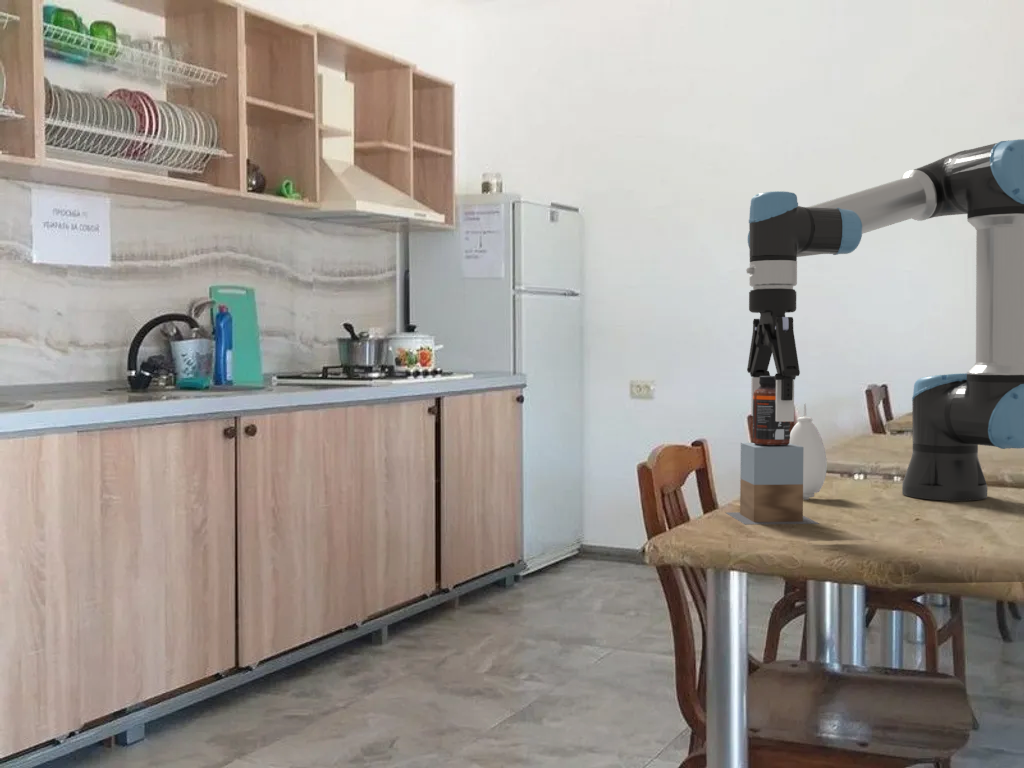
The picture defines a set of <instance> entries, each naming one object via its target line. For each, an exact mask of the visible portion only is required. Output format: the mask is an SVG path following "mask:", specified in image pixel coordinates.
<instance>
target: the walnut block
mask: <svg viewBox="0 0 1024 768" xmlns="http://www.w3.org/2000/svg"><path fill="white" fill-rule="evenodd" d="M739 481H740V488H739V489H740V492H739V497H740V499H739V500H740V501H739V502H740V503H739V504H740V506H739V508H740V509H739V512H740V514H741V515H742V516H744V517H746V518H748V519H749V520H751V521H753V522H803V516H804V500H803V484H787V485H753V484H751V483H749V482H747V481H745V480H742V479H740V480H739Z"/></svg>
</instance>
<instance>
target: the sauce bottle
mask: <svg viewBox="0 0 1024 768" xmlns="http://www.w3.org/2000/svg"><path fill="white" fill-rule="evenodd" d="M790 443H791V444H794V445H798V446H801V447H803V501H804V500H805V501H806V500H810V498H813V497H815V494H816V493H819V492H820V491H821V489H822V487H823V486H824V482H825V480H826V477H827V469H828V467H827V454H826V448H825V445H824V441H823V439H822V437H821V434H820V432H819V430H818V428H817V427H816V425H815V424H814V423H813V418H812V417H809V416H807V404H806V403H804V404H803V416H800V417H797V422H796V424H795V425H794V426H793V427H792V429H791V430H790Z"/></svg>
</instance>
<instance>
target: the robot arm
mask: <svg viewBox="0 0 1024 768" xmlns="http://www.w3.org/2000/svg"><path fill="white" fill-rule="evenodd" d="M956 215H957V216H958V215H967V222H968V223H969V224H970V225H971V226H972V227H973V228H974V229H975V230H976V235H975V237H976V241H975V242H976V250H975V252H976V256H975V257H976V258H975V259H976V265H975V266H976V267H975V268H976V269H975V272H976V273H975V279H976V280H975V283H976V284H975V286H976V287H975V290H976V291H975V295H976V296H975V363H974V364H973V366H971V367H970V368H969V369H968V370H967V371H966V373H947V374H939V375H937V374H936V375H929V376H928V375H927V376H922V377H920V378H918V379H916V381H915V382H914V384H913V393H912V394H913V395H912V398H911V401H912V405H911V406H912V453H911V458H910V461H909V464H908V466H907V469H906V472H905V473H904V475H905V476H904V478H903V481H902V487H901V488H902V492H901V494H902V495H904V496H906V497H910V498H916V499H917V498H918V499H924V500H925V499H926V500H936V501H956V502H957V501H980V500H985V499H987V498H988V484H987V481H986V477H985V474H984V471H983V469H982V465H981V463H980V460H979V446H985V447H986V446H987V447H996V448H998V449H1002V450H1005V449H1008V450H1009V449H1017V450H1018V449H1024V139H1020V138H1019V139H1012V140H1001V141H997V142H995V143H992V144H987V145H982V146H980V147H976V148H971V149H965V150H960V151H957V152H955V153H952V154H948V155H947V156H943V157H941V158H939V159H938V160H935V161H933V162H930V163H928V164H926V165H923V166H920V167H917V168H915V169H911V170H909V171H906V172H905V173H904V174H903V175H902V176H901V178H900V179H897V180H893V181H891V182H887V183H883V184H880V185H877V186H874V187H871V188H866V189H863V190H860V191H856V192H852V193H849V194H847V195H843V196H840V197H836V198H834V199H830V200H826V201H822V202H820V203H817V204H814V205H813V204H812V205H811V206H810V205H809V206H807V207H805V206H800V205H799V202H798V196H797V194H796V193H794V192H790V191H785V190H783V191H782V190H781V191H766V192H760V193H756V194H755V195H753V196H752V198H751V200H750V206H749V219H748V224H749V225H748V226H749V227H748V229H749V230H748V234H747V245H748V249H749V267H747V268H746V269H745V270H746V274H749V286H751V287H752V289H751V290H750V291H749V292H748V310H749V312H750V313H753V314H759V313H760V314H759V315H760V316H759V318H753V320H752V336H751V343H750V348H749V349H750V350H749V354H748V355H749V356H748V362H747V367H746V370H747V371H746V372H747V373H749V375H750V377H751V378H750V380H751V381H750V382H751V384H750V385H751V387H750V388H751V390H750V391H751V392H750V393H751V398H750V402H751V403H750V409H751V410H750V413H751V414H750V416H752V417H753V394H754V391H755V390H756V389H758V388H759V387H760V383H759V380H760V376H771V375H770V371H769V370H768V369H769V366H770V362H771V358H772V357H773V362H774V365H775V370H776V373H775V374H774V375H773V376H774V380H776V420H775V421H777V422H789V421H790V422H795V412H794V411H795V381H796V378H797V377H799V376H800V374H801V371H800V365H799V360H798V358H799V357H798V352H797V344H796V338H795V334H794V333H795V331H794V318H793V316H786V313H787V314H789V313H795V312H796V311H797V290H796V289H795V288H794V287H795V286H797V284H798V261H797V260H798V258H799V257H808V256H817V255H818V256H819V255H833V256H836V255H849V254H851V253H853V252H854V251H855V250H856V249H857V248H858V246H859V245H860V243H861V241H862V236H863V234H866V233H868V232H872V231H875V230H879V229H882V228H884V227H888V226H892V225H895V224H898V223H902V222H904V221H905V222H906V221H909V220H911V219H912V220H914V221H918V222H919V221H920V222H922V221H925V220H928V219H932V218H938V217H943V216H944V217H945V216H956Z"/></svg>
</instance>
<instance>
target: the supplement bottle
mask: <svg viewBox="0 0 1024 768" xmlns="http://www.w3.org/2000/svg"><path fill="white" fill-rule="evenodd" d="M774 376H775V375H770V376H760V380H759V383H760V387H759V388H758V389H756V390H755V391H754V394H753V416H752V443H754V444H756V445H764V446H785V445H788V444H789V443H790V432H791V421H789V422H777V421H775V420H776V380H774Z"/></svg>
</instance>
